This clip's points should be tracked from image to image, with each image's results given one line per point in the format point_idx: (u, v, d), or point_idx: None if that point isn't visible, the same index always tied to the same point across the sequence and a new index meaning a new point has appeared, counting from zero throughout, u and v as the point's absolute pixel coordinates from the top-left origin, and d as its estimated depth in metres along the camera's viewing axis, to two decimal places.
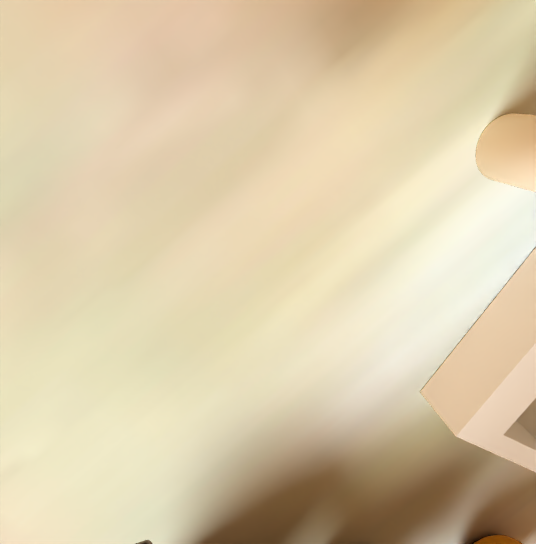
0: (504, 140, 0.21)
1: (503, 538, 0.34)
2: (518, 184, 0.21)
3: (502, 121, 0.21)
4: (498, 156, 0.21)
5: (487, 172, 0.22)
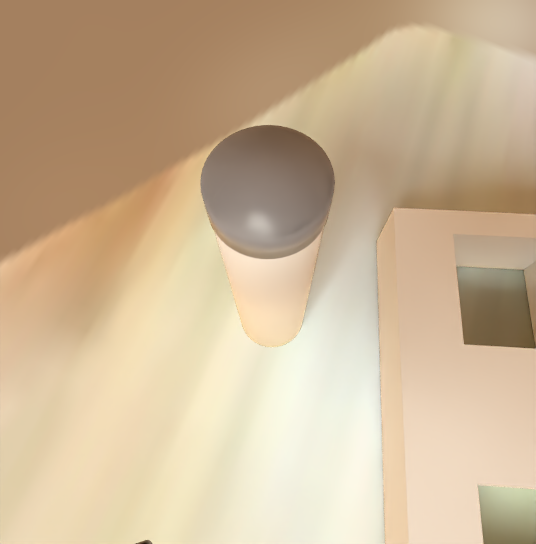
0: None
1: None
2: (266, 335, 0.21)
3: None
4: (243, 325, 0.22)
5: (261, 343, 0.23)
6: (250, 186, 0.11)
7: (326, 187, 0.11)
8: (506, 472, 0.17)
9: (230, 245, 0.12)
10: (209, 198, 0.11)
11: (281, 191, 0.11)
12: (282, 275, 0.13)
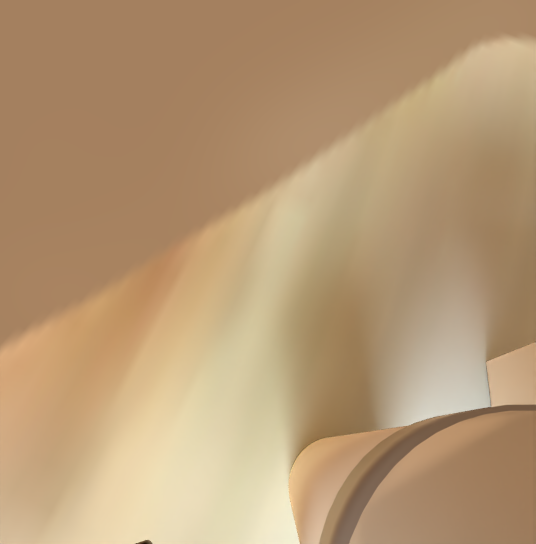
0: (290, 501, 0.14)
1: None
2: None
3: (293, 466, 0.15)
4: None
5: None
6: None
7: None
8: None
9: None
10: None
11: None
12: None
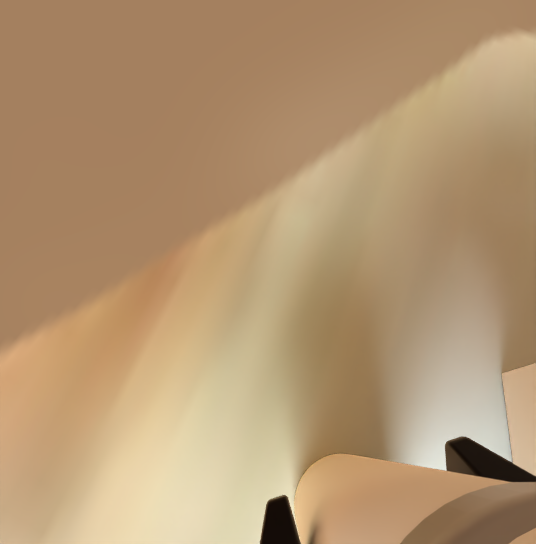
0: (297, 526, 0.13)
1: None
2: None
3: (299, 486, 0.14)
4: None
5: None
6: None
7: None
8: None
9: None
10: None
11: None
12: None
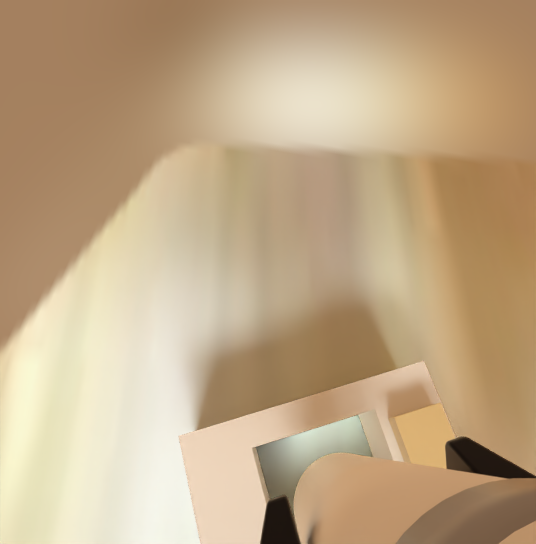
0: (296, 524, 0.13)
1: None
2: None
3: (298, 485, 0.14)
4: None
5: None
6: None
7: None
8: None
9: None
10: None
11: None
12: None
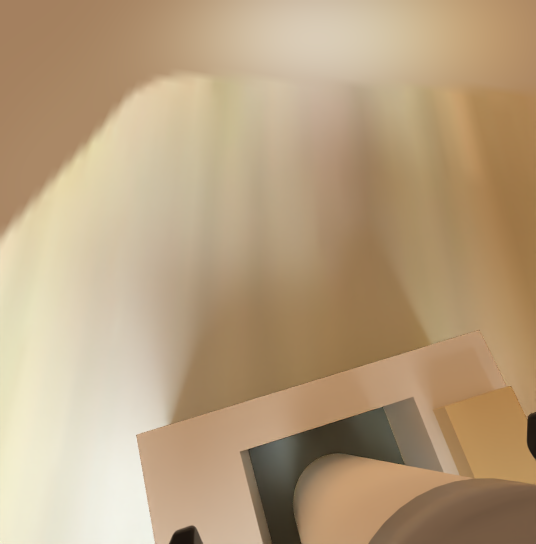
0: (296, 521, 0.14)
1: None
2: None
3: (298, 484, 0.15)
4: None
5: None
6: None
7: None
8: None
9: None
10: None
11: None
12: None
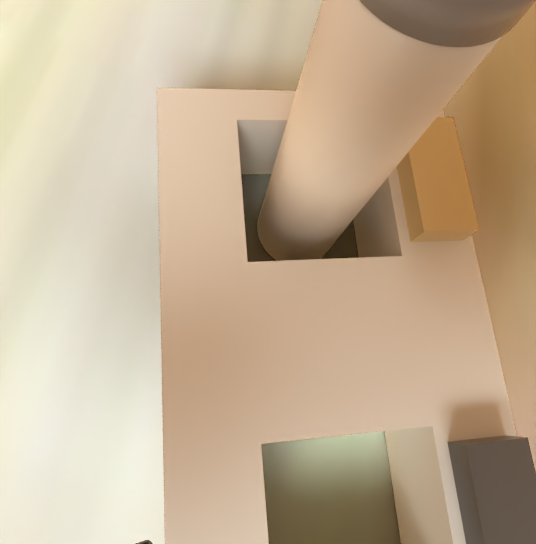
0: (262, 207, 0.17)
1: None
2: (295, 241, 0.16)
3: None
4: (265, 225, 0.17)
5: (278, 254, 0.18)
6: None
7: None
8: (298, 421, 0.13)
9: None
10: None
11: None
12: (408, 104, 0.09)
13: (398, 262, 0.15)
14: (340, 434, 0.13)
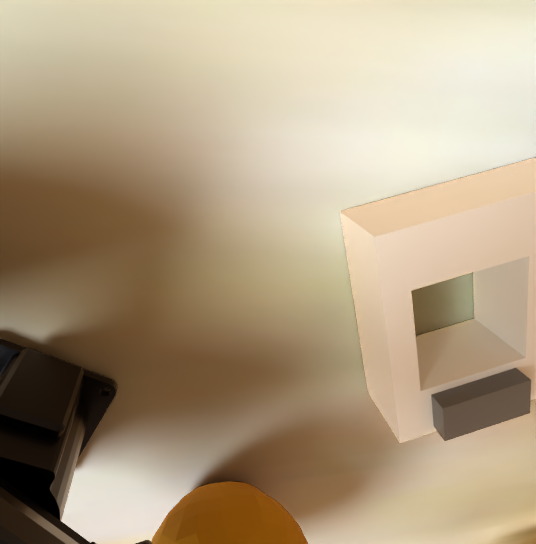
0: None
1: None
2: None
3: None
4: None
5: None
6: None
7: None
8: None
9: None
10: None
11: None
12: None
13: None
14: (528, 304, 0.20)
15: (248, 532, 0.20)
